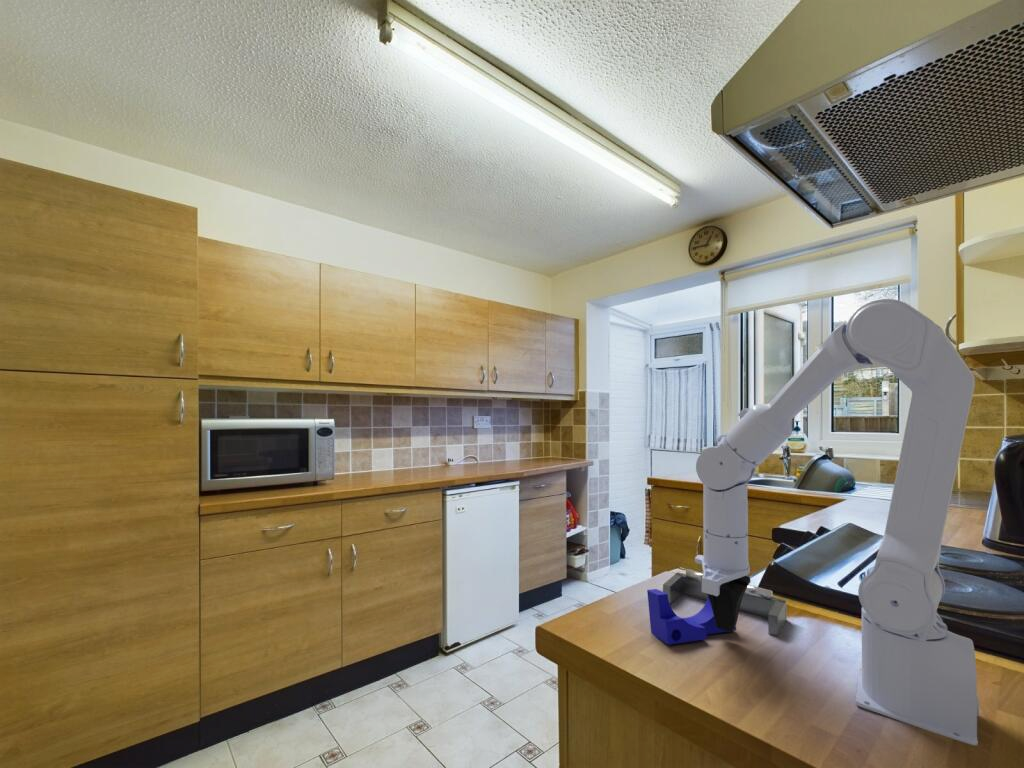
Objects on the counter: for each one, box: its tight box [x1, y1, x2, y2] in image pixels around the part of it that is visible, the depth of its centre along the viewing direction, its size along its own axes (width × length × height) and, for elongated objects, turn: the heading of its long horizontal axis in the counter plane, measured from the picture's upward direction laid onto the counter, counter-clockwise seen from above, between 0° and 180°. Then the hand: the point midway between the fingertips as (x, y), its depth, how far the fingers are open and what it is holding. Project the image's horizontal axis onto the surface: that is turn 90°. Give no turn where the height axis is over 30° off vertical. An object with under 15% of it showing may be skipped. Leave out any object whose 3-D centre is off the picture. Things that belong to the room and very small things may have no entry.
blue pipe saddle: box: [646, 588, 737, 646], centre depth 67 cm, size 12×4×6 cm, turn 103°
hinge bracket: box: [662, 569, 787, 637], centre depth 74 cm, size 17×7×4 cm, turn 50°
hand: (725, 628), depth 65 cm, fingers closed
